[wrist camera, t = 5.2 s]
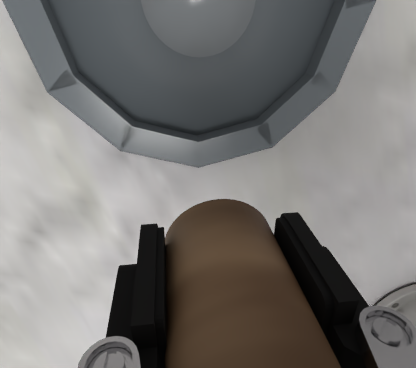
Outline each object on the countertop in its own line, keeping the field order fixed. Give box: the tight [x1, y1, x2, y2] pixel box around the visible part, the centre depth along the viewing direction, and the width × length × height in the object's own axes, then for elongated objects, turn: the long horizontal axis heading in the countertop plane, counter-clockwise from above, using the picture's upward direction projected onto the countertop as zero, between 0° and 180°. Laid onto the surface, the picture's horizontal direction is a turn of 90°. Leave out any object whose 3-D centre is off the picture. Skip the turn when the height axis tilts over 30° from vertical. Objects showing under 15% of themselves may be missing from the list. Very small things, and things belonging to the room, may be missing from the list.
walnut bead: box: [165, 199, 341, 368], centre depth 9 cm, size 4×4×6 cm
